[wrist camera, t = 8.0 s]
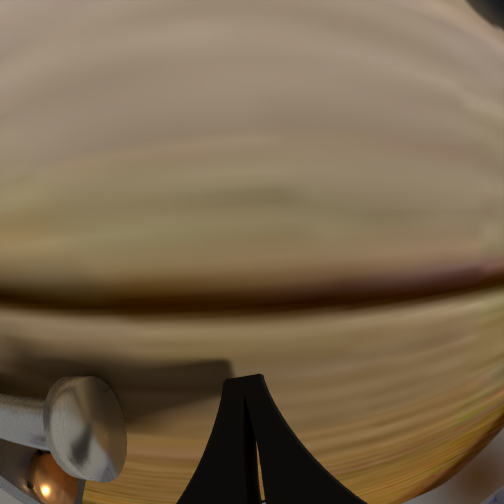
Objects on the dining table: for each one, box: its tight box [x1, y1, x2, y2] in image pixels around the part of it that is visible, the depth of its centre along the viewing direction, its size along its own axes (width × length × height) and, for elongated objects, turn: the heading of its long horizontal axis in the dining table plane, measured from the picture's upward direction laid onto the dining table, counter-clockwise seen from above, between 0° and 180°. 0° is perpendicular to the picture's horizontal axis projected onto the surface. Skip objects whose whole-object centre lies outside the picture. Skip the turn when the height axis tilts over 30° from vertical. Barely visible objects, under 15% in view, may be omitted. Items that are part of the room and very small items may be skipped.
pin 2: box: [27, 452, 78, 504], centre depth 11 cm, size 13×4×4 cm, turn 98°
